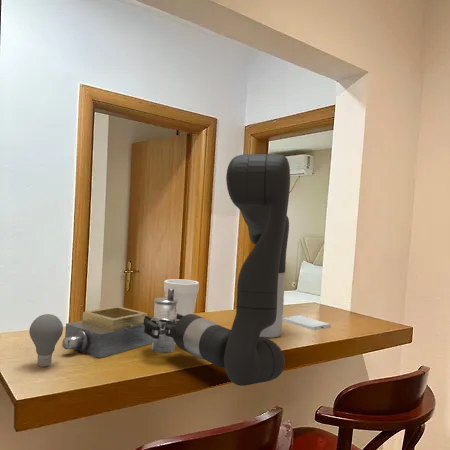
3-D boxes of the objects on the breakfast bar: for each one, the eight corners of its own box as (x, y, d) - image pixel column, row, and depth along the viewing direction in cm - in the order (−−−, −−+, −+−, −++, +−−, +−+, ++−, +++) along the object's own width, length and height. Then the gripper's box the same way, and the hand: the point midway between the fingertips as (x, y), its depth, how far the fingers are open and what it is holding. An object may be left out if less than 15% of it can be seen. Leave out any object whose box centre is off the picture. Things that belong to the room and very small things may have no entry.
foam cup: (190, 335, 108) (193, 285, 108) (156, 331, 110) (159, 282, 110) (199, 326, 118) (202, 281, 117) (168, 323, 119) (171, 278, 119)
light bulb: (59, 370, 79) (62, 318, 79) (24, 372, 77) (27, 318, 77) (62, 360, 84) (65, 311, 84) (30, 361, 83) (32, 311, 83)
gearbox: (125, 331, 108) (127, 303, 108) (159, 341, 102) (161, 311, 102) (48, 349, 90) (50, 316, 90) (83, 363, 83) (85, 327, 83)
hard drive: (282, 317, 132) (313, 326, 122) (300, 315, 137) (331, 323, 127) (282, 322, 132) (313, 332, 122) (299, 320, 137) (330, 328, 127)
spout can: (162, 344, 99) (166, 285, 99) (179, 349, 96) (183, 289, 96) (146, 349, 95) (150, 287, 95) (163, 354, 92) (167, 291, 92)
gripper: (229, 315, 89) (187, 300, 102) (170, 321, 80) (132, 305, 93) (226, 350, 89) (185, 331, 102) (168, 360, 80) (130, 338, 93)
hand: (160, 318), depth 97 cm, fingers open, 7 cm apart
